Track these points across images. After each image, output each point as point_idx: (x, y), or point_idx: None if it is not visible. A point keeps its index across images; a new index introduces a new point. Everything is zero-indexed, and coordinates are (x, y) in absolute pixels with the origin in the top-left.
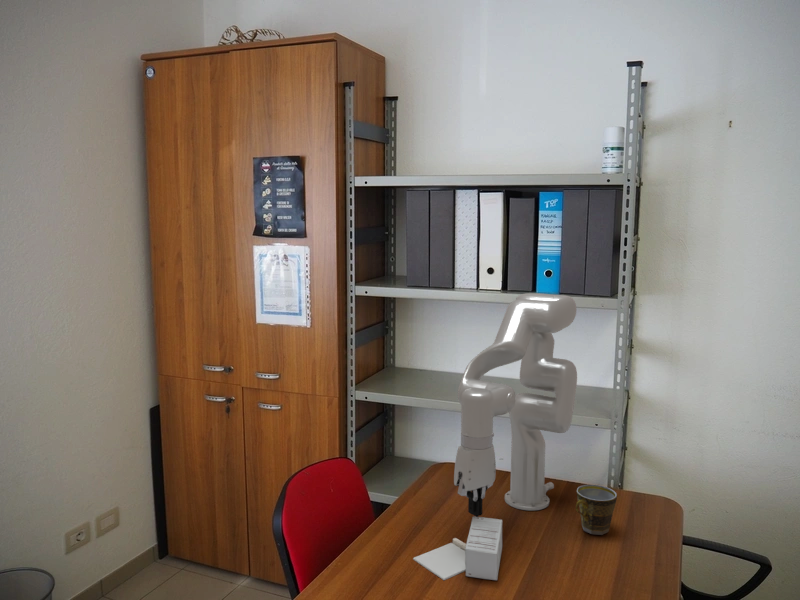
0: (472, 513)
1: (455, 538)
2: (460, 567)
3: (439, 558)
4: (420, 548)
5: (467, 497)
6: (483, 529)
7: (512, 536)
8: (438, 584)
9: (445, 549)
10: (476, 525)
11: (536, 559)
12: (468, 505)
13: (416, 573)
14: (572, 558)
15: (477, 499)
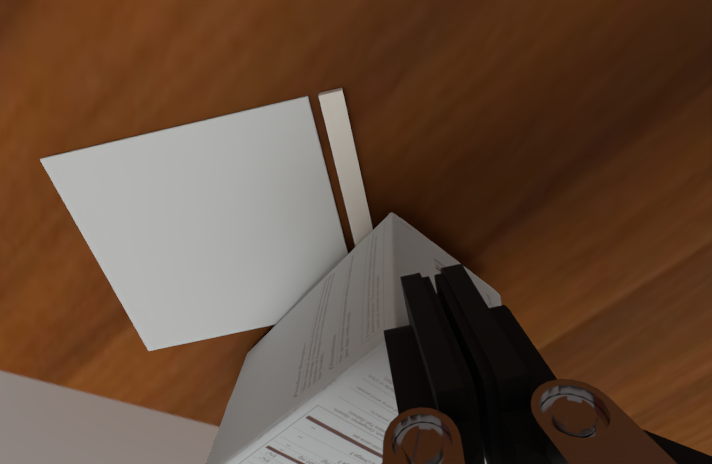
0: (409, 323)
1: (337, 96)
2: (248, 310)
3: (181, 216)
4: (114, 60)
5: (392, 435)
6: (371, 447)
7: (648, 158)
8: (122, 358)
9: (244, 151)
10: (354, 409)
11: (568, 348)
12: (411, 312)
13: (43, 267)
14: (678, 383)
15: (493, 457)
